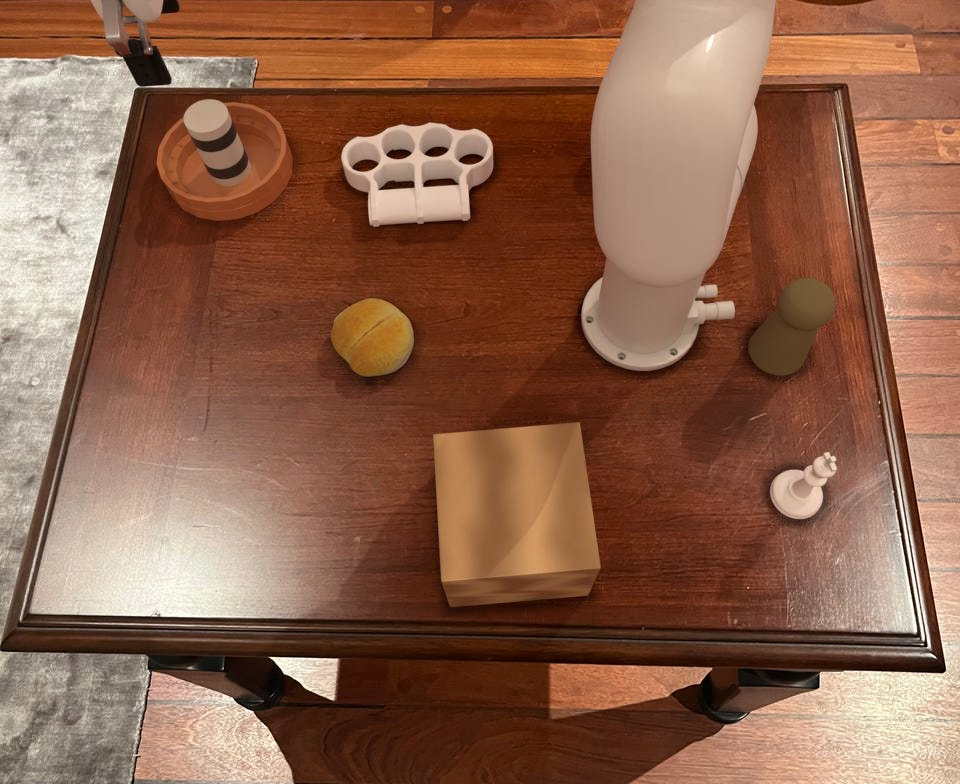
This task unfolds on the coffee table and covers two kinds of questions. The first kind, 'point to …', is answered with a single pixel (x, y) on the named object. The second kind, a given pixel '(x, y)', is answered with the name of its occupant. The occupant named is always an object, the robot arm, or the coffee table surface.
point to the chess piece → (802, 488)
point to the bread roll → (373, 337)
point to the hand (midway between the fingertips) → (160, 46)
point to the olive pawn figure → (792, 326)
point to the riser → (514, 515)
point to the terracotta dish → (228, 202)
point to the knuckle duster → (418, 172)
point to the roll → (217, 142)
